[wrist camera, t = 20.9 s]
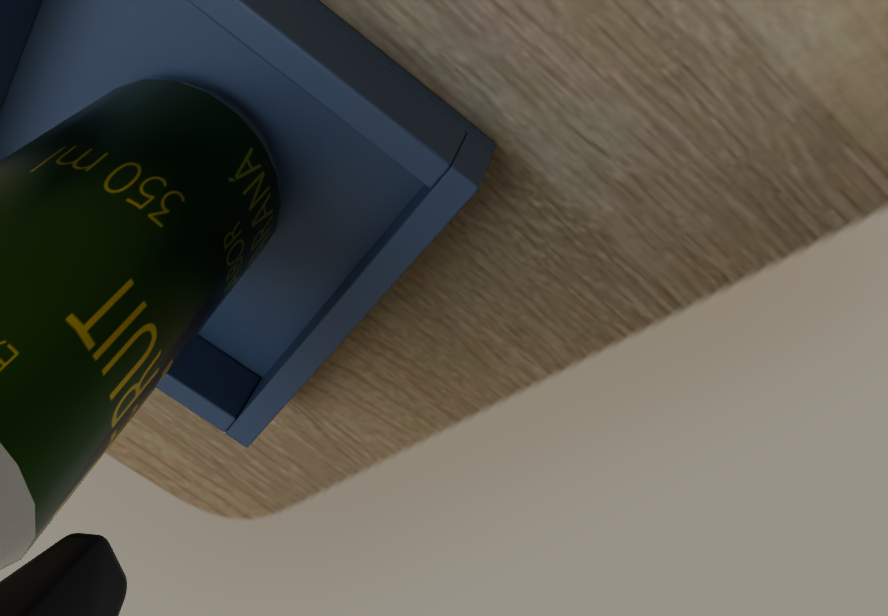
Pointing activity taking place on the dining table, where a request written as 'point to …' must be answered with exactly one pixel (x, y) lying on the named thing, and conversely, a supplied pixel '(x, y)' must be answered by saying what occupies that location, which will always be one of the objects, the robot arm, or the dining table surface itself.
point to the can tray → (298, 162)
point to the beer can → (114, 274)
